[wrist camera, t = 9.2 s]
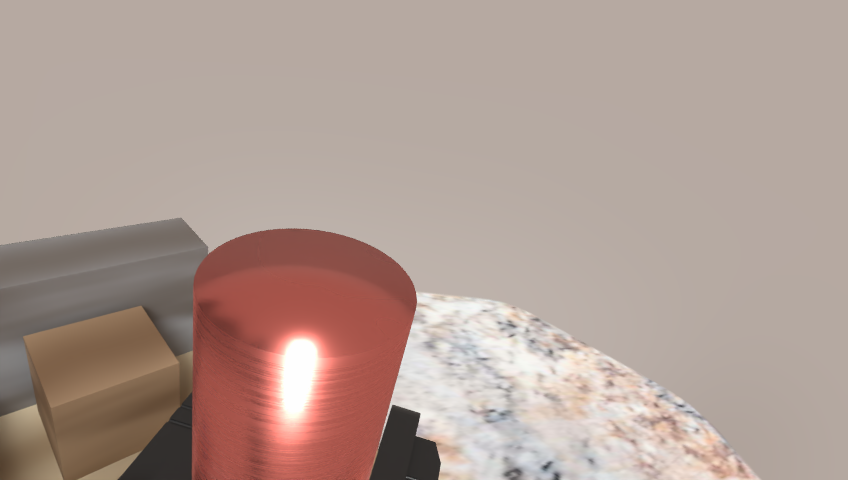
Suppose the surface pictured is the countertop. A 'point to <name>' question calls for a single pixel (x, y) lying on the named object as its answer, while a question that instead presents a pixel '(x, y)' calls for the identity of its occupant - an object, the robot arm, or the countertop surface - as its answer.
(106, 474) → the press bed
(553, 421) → the countertop surface
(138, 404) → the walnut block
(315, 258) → the plunger
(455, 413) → the countertop surface
